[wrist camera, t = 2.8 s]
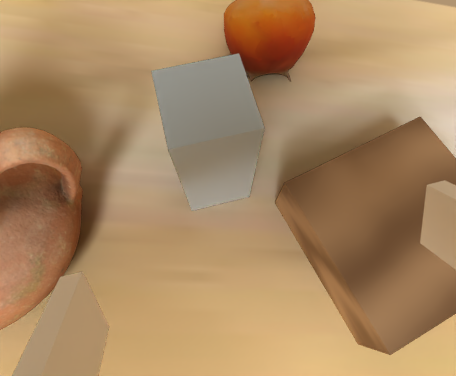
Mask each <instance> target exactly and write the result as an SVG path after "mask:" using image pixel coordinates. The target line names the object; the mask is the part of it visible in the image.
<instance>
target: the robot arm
mask: <svg viewBox="0 0 456 376" xmlns="http://www.w3.org/2000/svg"><path fill="white" fill-rule="evenodd" d="M420 243H421V244H422V245H423V246H425V247H426V248H427V249H429V250H430V251H431V252H433V253H434V254H435V255H437V256H438V257H439V258H441V259H442V260H443V261H445V262H446V263H447V264H449V265H450V266H451V267H453V268H454V269H455V270H456V185H454V184H452V183H449V182H447V181H445V180H444V181H440V182H436V183H432V184H428V185H427V187H426V196H425V204H424V213H423V222H422V230H421V239H420ZM108 330H109V325H108V323H107V321H106V319H105V317H104V314H103V312H102V310H101V308H100V306H99V304H98V302H97V300H96V298H95V296H94V294H93V292H92V290H91V288H90V286H89V283H88V281H87V279H86V277H85V275H84V273H83V271H81V272H77V273H73V274H69V275H65V276H61V277H60V278H59V280H58V282H57V284H56V286H55V288H54V290H53V292H52V295H51V297H50V299H49V301H48V303H47V305H46V307H45V309H44V311H43V313H42V315H41V317H40V319H39V321H38V323H37V325H36V327H35V329H34V331H33V333H32V336H31V338H30V340H29V342H28V344H27V346H26V348H25V350H24V352H23V354H22V356H21V358H20V360H19V362H18V364H17V366H16V368H15V370H14V372H13V374H12V376H99V371H100V367H101V362H102V357H103V353H104V348H105V344H106V339H107V335H108Z"/></svg>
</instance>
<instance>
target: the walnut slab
mask: <svg viewBox="0 0 456 376" xmlns="http://www.w3.org/2000/svg"><path fill="white" fill-rule="evenodd" d="M444 180H445V181H447V182H449V183H452V184H454V185H456V158H455V157H454V156H453V155H452V153H451V152H450V151H449V150H448V149H447V147H446V146H445V145H444V144H443V143H442V142H441V140H440V139H439V138H438V137H437V136H436V134H435V133H434V132H433V131H432V130H431V129H430V127H429V126H428V125H427V124H426V123H425V121H424V120H423V119H422V118H421V117H418V118H416V119H414V120H412V121H410V122H408V123H406V124H404V125H402V126H400V127H398V128H396V129H394V130H392V131H389V132H387V133H385V134H383V135H381V136H379V137H377V138H375V139H373V140H371V141H369V142H367V143H365V144H363V145H361V146H359V147H357V148H355V149H353V150H351V151H349V152H347V153H344V154H342V155H340V156H338V157H336V158H334V159H332V160H330V161H328V162H326V163H324V164H322V165H320V166H318V167H316V168H314V169H312V170H310V171H308V172H306V173H304V174H301V175H299V176H297V177H295V178H293V179H291V180H289V181H287V182H285V183H284V185H283V187H282V189H281V191H280V193H279V195H278V198H277V200H276V202H275V204H276V205H277V207H278V209H279V211H280V212H281V214H282V216H283V217H284V219H285V221H286V222H287V224H288V226H289V228H290V229H291V231H292V233H293V234H294V236H295V238H296V239H297V241H298V243H299V245H300V246H301V248H302V250H303V251H304V253H305V255H306V257H307V258H308V260H309V262H310V263H311V265H312V267H313V268H314V270H315V272H316V274H317V275H318V277H319V279H320V280H321V282H322V284H323V285H324V287H325V289H326V291H327V292H328V294H329V296H330V297H331V299H332V301H333V302H334V304H335V306H336V308H337V309H338V311H339V313H340V314H341V316H342V318H343V320H344V321H345V323H346V325H347V326H348V328H349V330H350V331H351V333H352V335H353V337H354V338H355V340H356V342H357V343H358V344H359V345H362V346H365V347H368V348H371V349H374V350H377V351H380V352H383V353H386V354H389V355H391V354H393V353H394V352H396V351H398V350H399V349H401V348H402V347H404V346H405V345H407V344H409V343H410V342H412V341H413V340H415V339H417V338H418V337H420V336H421V335H423V334H424V333H426V332H428V331H429V330H431V329H432V328H434V327H435V326H437V325H439V324H440V323H442V322H443V321H445V320H446V319H448V318H450V317H451V316H453V315H454V314H456V270H455V269H454V268H453V267H451V266H450V265H449V264H447V263H446V262H445V261H443V260H442V259H441V258H439V257H438V256H437V255H435V254H434V253H433V252H431V251H430V250H429V249H427V248H426V247H425V246H423V245H422V244H421V243H420V239H421V230H422V222H423V213H424V204H425V196H426V187H427V185H428V184H432V183H436V182H440V181H444Z"/></svg>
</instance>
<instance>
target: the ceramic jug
mask: <svg viewBox="0 0 456 376" xmlns="http://www.w3.org/2000/svg"><path fill="white" fill-rule="evenodd" d="M81 171H82V167H81V163H80V160H79V158H78V157H77V155H76V154H75V152H74V151H73V150H72V149H71V148H70V147H69V146H68V145H67V144H66V143H64V142H63V141H61V140H60V139H58V138H57V137H55V136H54V135H52V134H50V133H48V132H45V131H43V130H39V129H35V128H29V127H27V128H23V127H20V128H13V129H8V130H5V131H2V132H0V330H1V329H3V328H5V327H6V326H8V325H10V324H12V323H13V322H15V321H17V320H18V319H20V318H21V317H23V316H24V315H25V314H27V313H28V312H29V311H31V310H32V309H33V308H34V307H36V306H37V305H38V304H39V303H40V302H41V301H42V300H43V299H44V298H45V297H46V296H47V295H48V294H49V293H50V292H51V291H52V290H53V288H54V287H55V286H56V284H57V282H58V280H59V278H60V277H61V276H63V275H64V273H65V271H66V270H67V268H68V266H69V264H70V262H71V260H72V258H73V255H74V253H75V250H76V247H77V244H78V239H79V235H80V229H81V208H82V207H81V201H82V192H83V191H82V188H81V186H80V185H79V182H80V177H81Z"/></svg>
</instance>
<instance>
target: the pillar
mask: <svg viewBox="0 0 456 376" xmlns="http://www.w3.org/2000/svg"><path fill="white" fill-rule="evenodd" d="M151 72H152V76H153V81H154V86H155V91H156V95H157V100H158V105H159V109H160V114H161V119H162V123H163V128H164V133H165V137H166V142H167V147H168V151H169V153H170V156H171V158H172V161H173V164H174V166H175V169H176V171H177V174H178V177H179V179H180V182H181V184H182V187H183V190H184V192H185V195H186V197H187V200H188V202H189V205H190V208H191V210H192V211H194V210H198V209H202V208H206V207H210V206H214V205H218V204H222V203H226V202H230V201H234V200H238V199H242V198H247V197H250V192H251V188H252V183H253V179H254V174H255V170H256V165H257V160H258V156H259V151H260V147H261V142H262V138H263V133H264V129H265V127H264V124H263V121H262V119H261V116H260V113H259V110H258V107H257V104H256V101H255V98H254V95H253V93H252V90H251V87H250V84H249V81H248V78H247V75H246V72H245V69H244V66H243V64H242V61H241V58H240V55H239V53H238V54H233V55H228V56H223V57H218V58H213V59H208V60H203V61H198V62H193V63H188V64H183V65H178V66H173V67H168V68H163V69H158V70H153V71H151Z"/></svg>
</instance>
